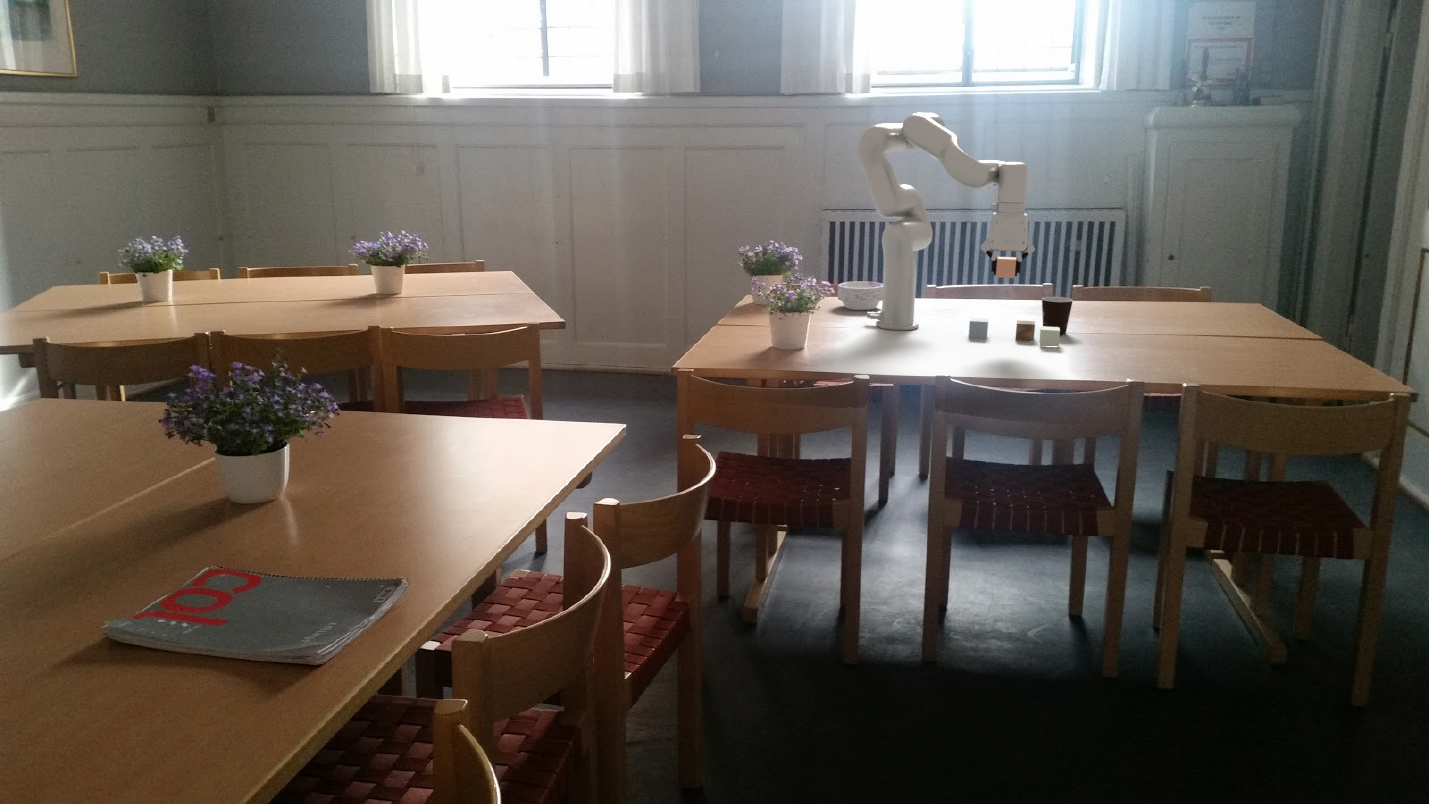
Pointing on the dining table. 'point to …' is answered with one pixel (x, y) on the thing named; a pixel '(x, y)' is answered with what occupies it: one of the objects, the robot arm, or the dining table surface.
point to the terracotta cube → (1006, 267)
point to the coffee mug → (1056, 312)
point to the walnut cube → (1025, 330)
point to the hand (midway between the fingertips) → (1005, 274)
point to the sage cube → (1049, 336)
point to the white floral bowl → (860, 295)
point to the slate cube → (978, 328)
